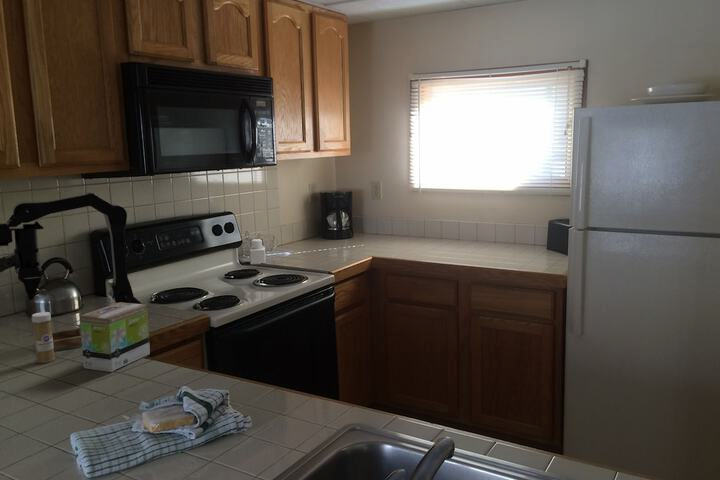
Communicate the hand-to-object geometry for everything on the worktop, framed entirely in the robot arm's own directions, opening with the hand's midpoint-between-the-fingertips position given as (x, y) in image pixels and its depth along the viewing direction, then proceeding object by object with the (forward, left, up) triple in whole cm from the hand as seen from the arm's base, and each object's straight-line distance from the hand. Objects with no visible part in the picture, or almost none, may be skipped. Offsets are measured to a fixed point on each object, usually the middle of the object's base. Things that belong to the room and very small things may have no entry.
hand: (29, 296), depth 182 cm
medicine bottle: (-101, -79, -15) cm, 129 cm away
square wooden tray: (-8, +7, -14) cm, 18 cm away
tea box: (-19, +32, -15) cm, 40 cm away
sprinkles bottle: (-2, +20, -15) cm, 25 cm away
